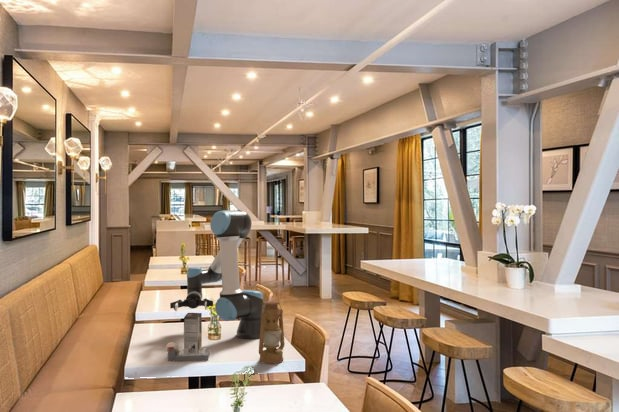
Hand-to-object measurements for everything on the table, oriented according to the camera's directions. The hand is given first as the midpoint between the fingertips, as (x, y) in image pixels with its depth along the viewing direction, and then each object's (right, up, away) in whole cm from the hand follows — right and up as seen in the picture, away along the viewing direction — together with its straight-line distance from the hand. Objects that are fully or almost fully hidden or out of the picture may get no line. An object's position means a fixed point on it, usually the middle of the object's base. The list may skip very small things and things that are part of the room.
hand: (190, 307), depth 237 cm
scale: (+2, -19, -15) cm, 24 cm away
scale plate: (+4, -17, -15) cm, 23 cm away
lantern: (+39, -19, -18) cm, 47 cm away
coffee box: (+4, -17, -15) cm, 23 cm away
